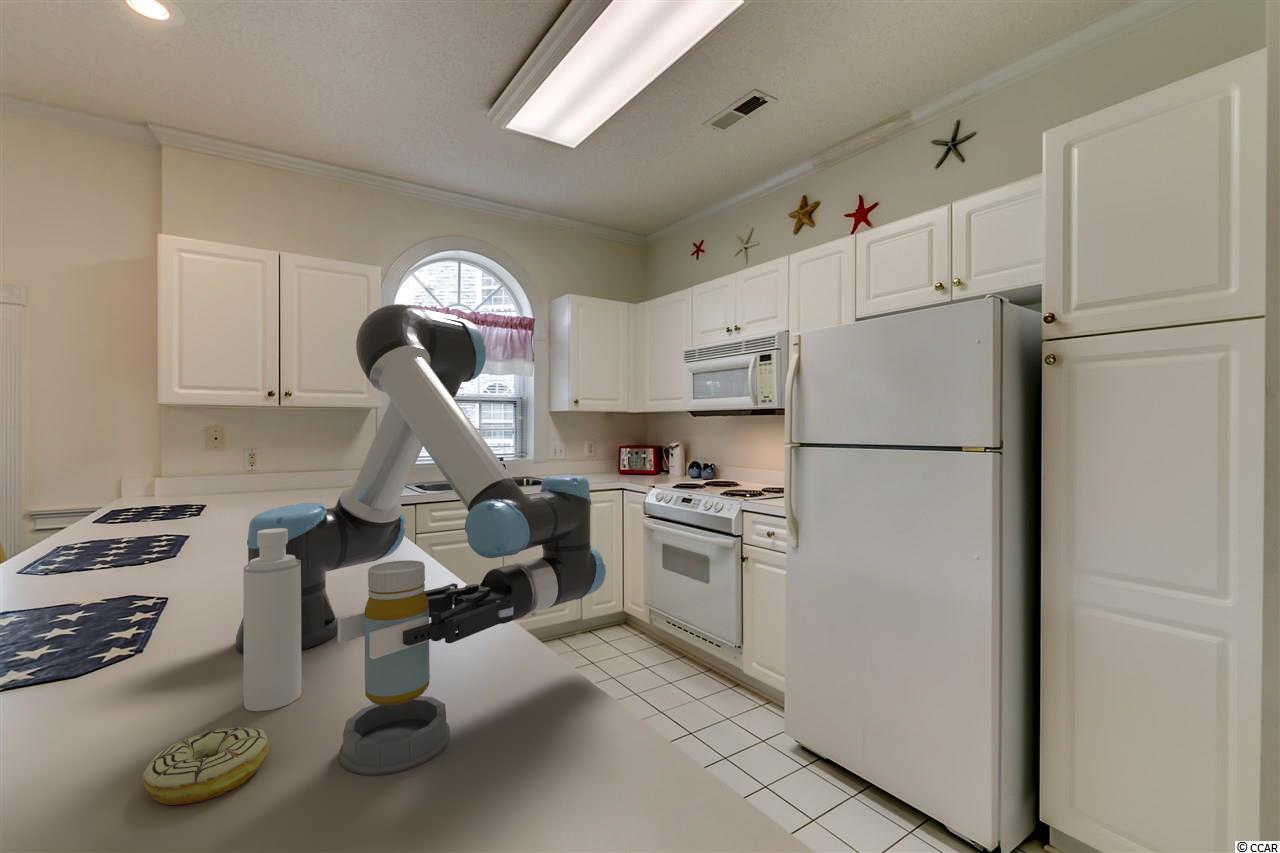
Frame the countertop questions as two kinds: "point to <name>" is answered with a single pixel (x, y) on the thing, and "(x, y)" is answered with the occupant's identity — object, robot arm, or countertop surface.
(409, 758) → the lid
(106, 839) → the countertop surface
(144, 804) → the countertop surface
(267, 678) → the spray bottle
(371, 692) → the bottle
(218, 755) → the decorated donut
